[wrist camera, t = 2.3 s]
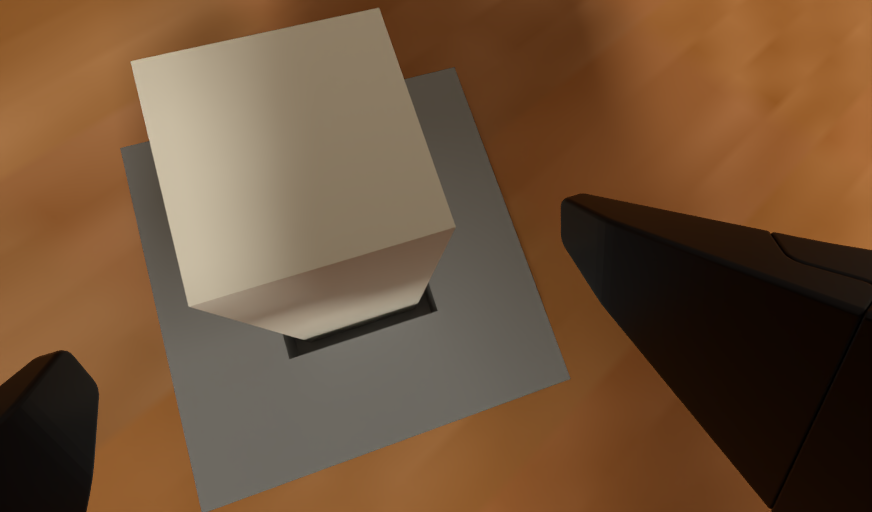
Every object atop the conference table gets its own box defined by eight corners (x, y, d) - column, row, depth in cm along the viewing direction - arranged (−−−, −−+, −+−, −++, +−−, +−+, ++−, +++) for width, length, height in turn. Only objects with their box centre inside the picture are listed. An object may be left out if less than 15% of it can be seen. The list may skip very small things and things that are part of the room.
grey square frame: (546, 376, 19) (570, 378, 16) (229, 491, 17) (201, 513, 14) (446, 102, 21) (454, 67, 18) (155, 176, 19) (120, 148, 16)
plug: (415, 307, 18) (455, 227, 7) (310, 341, 17) (188, 306, 7) (384, 209, 19) (379, 7, 8) (281, 239, 18) (130, 61, 8)
